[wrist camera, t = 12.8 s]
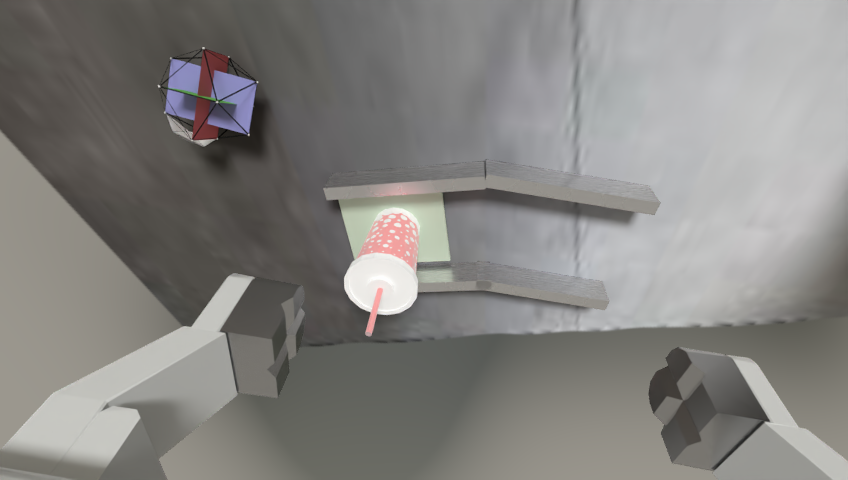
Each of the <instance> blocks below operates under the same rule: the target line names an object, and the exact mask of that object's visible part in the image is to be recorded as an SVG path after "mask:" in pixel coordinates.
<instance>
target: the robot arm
mask: <svg viewBox="0 0 848 480" xmlns="http://www.w3.org/2000/svg"><path fill="white" fill-rule="evenodd" d="M303 301H304V288H303V287H302V286H301V285H296V284H291V283H286V282H280V281H275V280H270V279H265V278H259V277H251V276H246V275H241V274H236V273H233V274H232V275H230V276H228V277H227V278H226V280H225V281H224V282H223V284H222V285H221V287H220V288H219V289H218V291H217V292H216V293H215V295H214V296H213V298H212V299H211V300H210V302H209V303H208V305H207V306H206V307H205V309H204V310H203V311H202V313H201V314H200V316H199V317H198V318H197V320H196V321H195V322H194V324H193V325H192V327H186V326H183V327H181V328H179V329H177V330H175V331H174V332H172V333H170V334H168V335H166V336H164V337H162V338H160V339H158V340H156V341H154V342H152V343H150V344H148V345H146V346H144V347H142V348H140V349H138V350H136V351H134V352H132V353H130V354H128V355H127V356H125V357H123V358H121V359H119V360H117V361H115V362H113V363H111V364H109V365H107V366H105V367H103V368H101V369H100V370H97V371H95V372H93V373H91V374H89V375H87V376H85V377H83V378H82V379H80V380H78V381H76V382H74V383H72V384H70V385H68V386H66V387H64V388H62V389H60V390H58V391H56V392H54V393H52V395H51V396H50V397H49V398H48V399H47V400H46V401H45V402H44V403H43V404H42V405H41V406H40V408H39V409H38V410H37V411H36V412H35V413H34V414H33V415H32V416H31V417H30V418H29V420H28V421H27V422H26V423H25V424H24V425H23V426H22V427H21V428H20V429H19V430H18V431H17V433H16V434H15V435H14V436H13V437H12V438H11V439H10V440H9V441H8V442H7V443H6V445H4V447H3V448H2V449H1V450H0V480H167V478H166V475H165V473H164V471H163V468H162V466H161V464H160V461H159V458H160V457H161V456H163V455H164V454H165V453H167V452H168V451H169V450H170V449H171V448H173V447H174V446H175V445H176V444H177V443H179V442H180V441H181V440H183V439H184V438H185V437H186V436H187V435H189V434H190V433H191V432H192V431H194V430H195V429H196V428H197V427H199V425H201V424H202V423H204V422H205V421H206V420H207V419H208V418H210V417H211V416H212V415H213V414H215V413H216V412H217V411H218V410H220V409H221V408H222V407H223V406H224V405H226V404H227V403H228V402H229V401H231V400H232V399H233V398H234V397H235V396H237V393H244V394H252V395H259V396H266V397H273V398H278V397H279V394H280V392H281V390H282V388H283V385H284V383H285V381H286V378H287V376H288V374H289V360H290V359H291V358H293V357H294V356H296V354H297V352H298V350H299V347H300V345H301V341H302V337H303V333H304V327H305V313H304V312H303V311H302V309H301V308H300V307H301V305H302V303H303ZM666 361H667V364H668V366H667V367H665V368H663V369H661V370H658V371H657V372H656V373H655V375H654V376H653V378H652V380H651V382H650V388H649V400H650V405H651V408H652V411H653V413H654V415H655V416H656V417H657V418H658V419H659V420H660V421H661V422H662V423H663V424H664V426H663V429H662V431H661V435H662V438H663V440H664V443H665V446H666V448H667V451H668V454H669V456H670V459H671V462H672V463H674V464H680V465H685V466H690V467H695V468H700V469H705V470H711V471H714V472H713V474H714V476H715V477H716V478H717V479H718V480H848V461H847V460H846V459H845V458H843V457H842V456H841V455H839V454H838V453H837V452H836V451H834V450H833V449H832V448H831V447H829V446H828V445H827V444H825V443H824V442H823V441H821V440H820V439H819V438H818V437H816V436H815V435H814V434H813V433H811V432H810V431H809V430H807V429H804V428H799V427H798V425H797V424H796V422H795V421H794V419H793V418H792V416H791V415H790V413H789V412H788V410H787V409H786V407H785V406H784V404H783V403H782V401H781V400H780V398H779V397H778V395H777V393H776V392H775V391H774V389H773V387H772V386H771V384H770V383H769V381H768V380H767V378H766V377H765V375H764V374H763V372H762V371H761V369H760V368H759V366H758V365H757V364H756V363H755V362H754V361H753V360H751V359H750V358H746V357H738V356H732V355H726V354H725V355H722V354H719V353H712V352H705V351H699V350H693V349H686V348H680V347H677V348H675V349H673V350H672V351H671V352H670V353H669V354H668V356H667V357H666Z"/></svg>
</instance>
